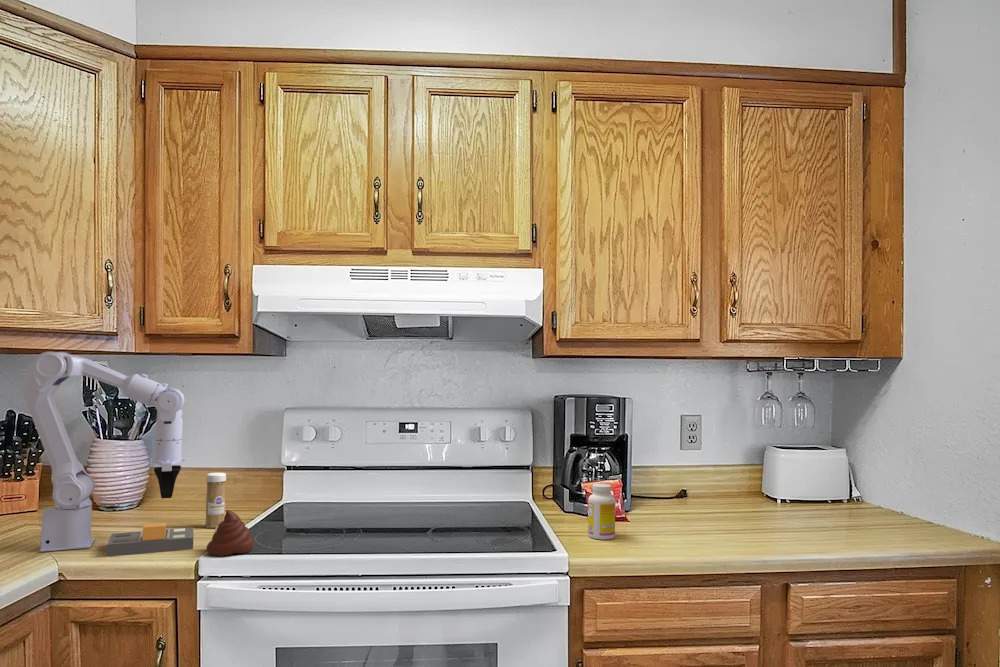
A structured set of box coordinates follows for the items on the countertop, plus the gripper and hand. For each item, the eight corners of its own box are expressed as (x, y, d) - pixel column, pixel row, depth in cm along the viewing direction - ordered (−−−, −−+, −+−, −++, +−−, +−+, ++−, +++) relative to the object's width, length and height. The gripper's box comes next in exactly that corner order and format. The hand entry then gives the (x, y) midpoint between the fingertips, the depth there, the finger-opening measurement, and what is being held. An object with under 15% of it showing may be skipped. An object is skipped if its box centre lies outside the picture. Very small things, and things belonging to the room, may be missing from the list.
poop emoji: (211, 560, 146) (212, 515, 146) (202, 550, 153) (203, 508, 153) (258, 553, 152) (260, 510, 152) (248, 544, 159) (249, 503, 159)
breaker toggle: (142, 540, 150) (143, 527, 150) (143, 537, 153) (143, 524, 153) (164, 539, 152) (165, 525, 152) (165, 535, 155) (165, 522, 155)
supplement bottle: (619, 536, 172) (619, 484, 172) (607, 542, 166) (608, 488, 167) (595, 532, 175) (595, 481, 176) (583, 537, 170) (583, 485, 170)
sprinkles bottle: (212, 529, 171) (214, 475, 172) (201, 527, 173) (202, 473, 174) (228, 526, 175) (230, 473, 176) (216, 523, 177) (218, 471, 178)
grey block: (106, 556, 147) (106, 543, 147) (111, 544, 156) (111, 532, 156) (193, 548, 154) (193, 536, 154) (193, 538, 163) (193, 526, 163)
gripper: (187, 442, 156) (184, 502, 156) (187, 435, 170) (185, 491, 169) (152, 443, 154) (150, 504, 153) (155, 436, 167) (153, 492, 166)
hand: (166, 497), depth 161 cm, fingers closed
